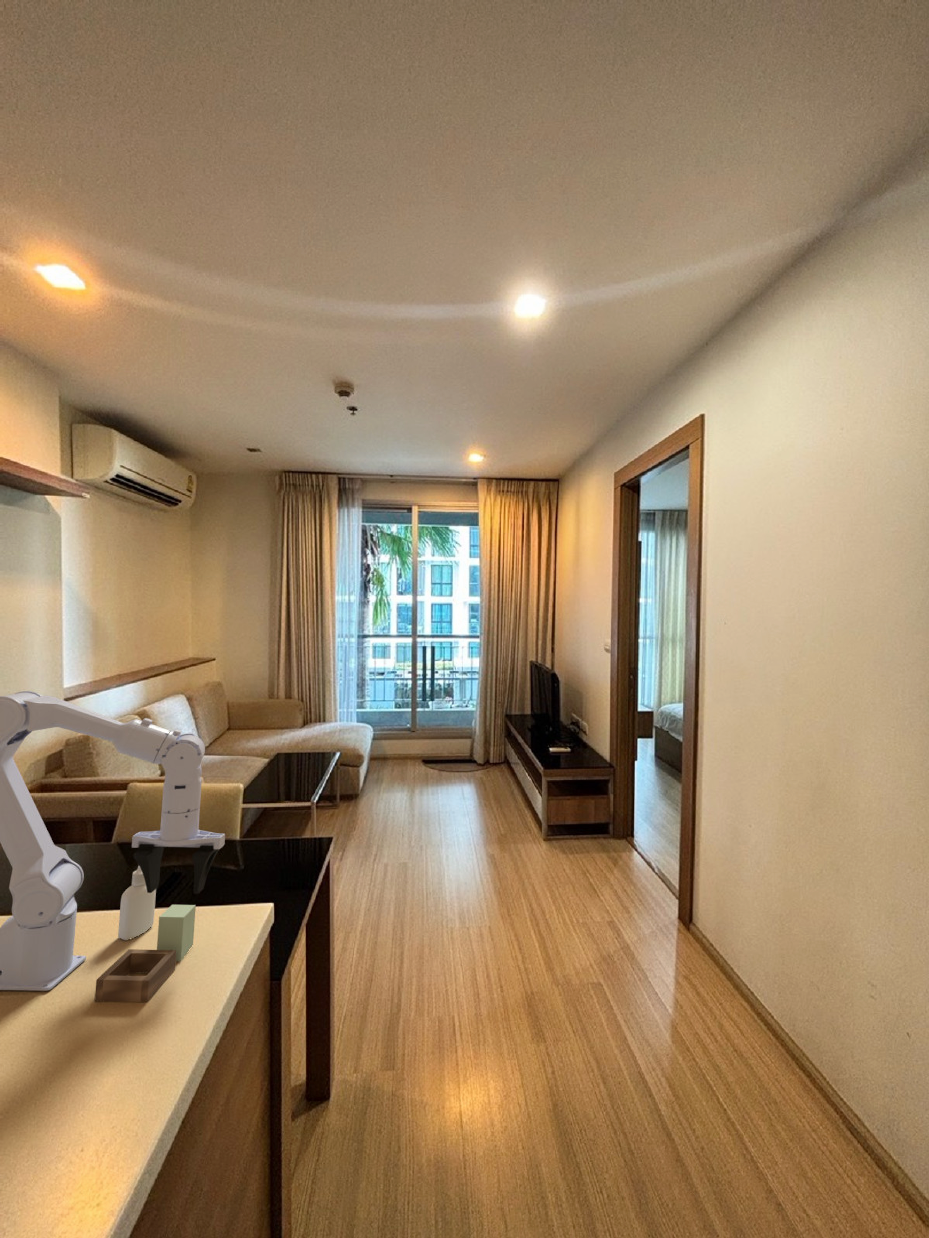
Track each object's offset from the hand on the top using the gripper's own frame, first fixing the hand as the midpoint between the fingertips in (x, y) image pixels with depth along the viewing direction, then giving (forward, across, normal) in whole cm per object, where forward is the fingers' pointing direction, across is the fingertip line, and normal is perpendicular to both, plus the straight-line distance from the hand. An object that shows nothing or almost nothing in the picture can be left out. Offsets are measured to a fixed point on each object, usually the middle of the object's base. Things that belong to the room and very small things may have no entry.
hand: (175, 890), depth 86 cm
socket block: (+10, +1, +8) cm, 13 cm away
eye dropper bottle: (+11, +10, -6) cm, 16 cm away
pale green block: (+10, 0, 0) cm, 11 cm away
